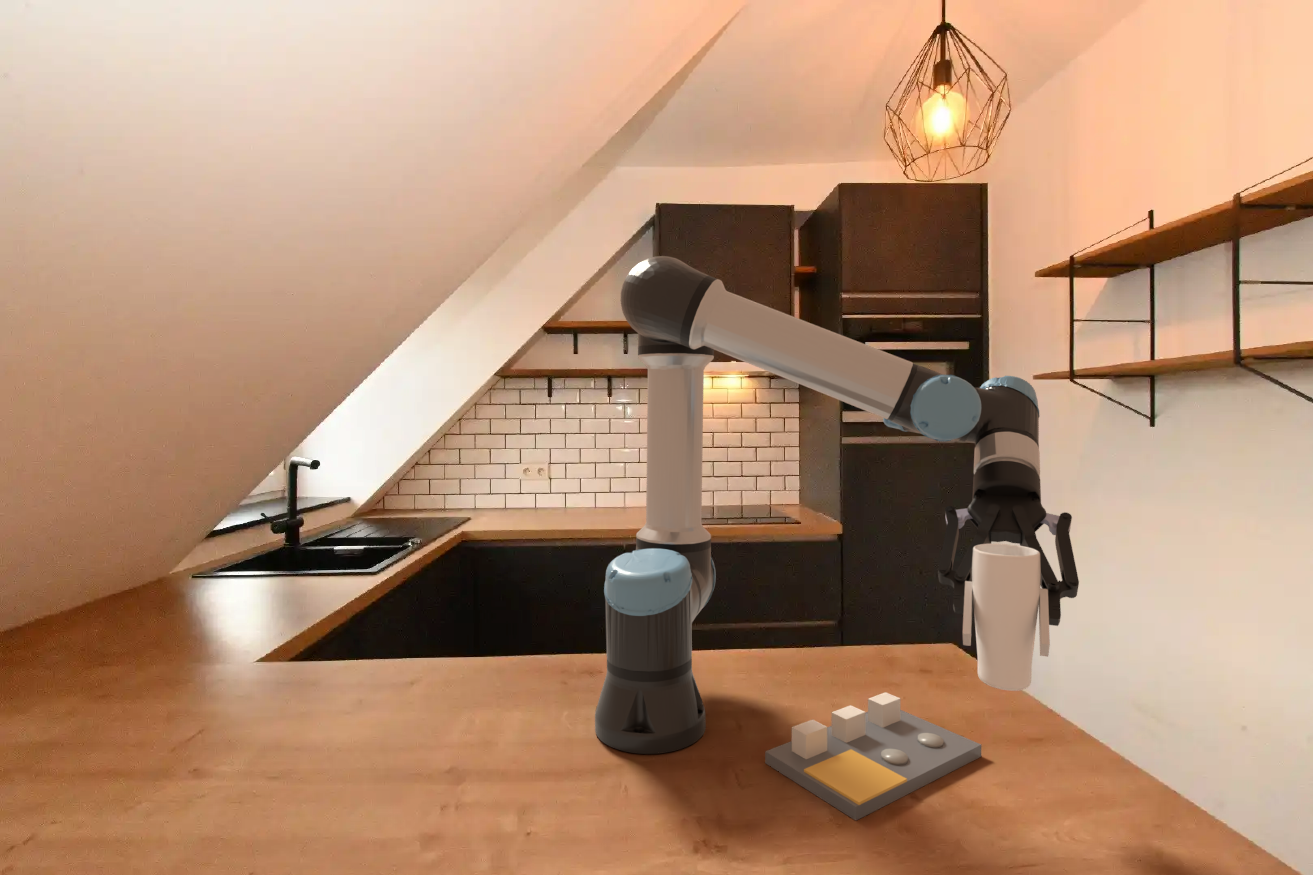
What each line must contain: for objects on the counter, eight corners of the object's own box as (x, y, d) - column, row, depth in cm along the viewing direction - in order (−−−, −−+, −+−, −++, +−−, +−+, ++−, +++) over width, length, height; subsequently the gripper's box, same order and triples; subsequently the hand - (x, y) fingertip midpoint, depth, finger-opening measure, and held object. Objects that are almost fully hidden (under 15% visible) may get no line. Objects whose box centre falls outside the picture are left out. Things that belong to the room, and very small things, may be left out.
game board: (765, 763, 83) (765, 727, 83) (887, 714, 96) (887, 683, 96) (855, 820, 72) (855, 778, 71) (981, 756, 84) (981, 720, 84)
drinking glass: (1037, 700, 71) (1039, 558, 70) (966, 687, 75) (968, 551, 74) (1040, 678, 77) (1042, 546, 76) (974, 666, 80) (976, 540, 80)
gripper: (1095, 499, 84) (1110, 676, 70) (924, 491, 93) (909, 647, 79) (1101, 459, 79) (1120, 641, 65) (921, 455, 88) (904, 614, 74)
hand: (1004, 644), depth 72 cm, fingers closed on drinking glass, 7 cm apart
